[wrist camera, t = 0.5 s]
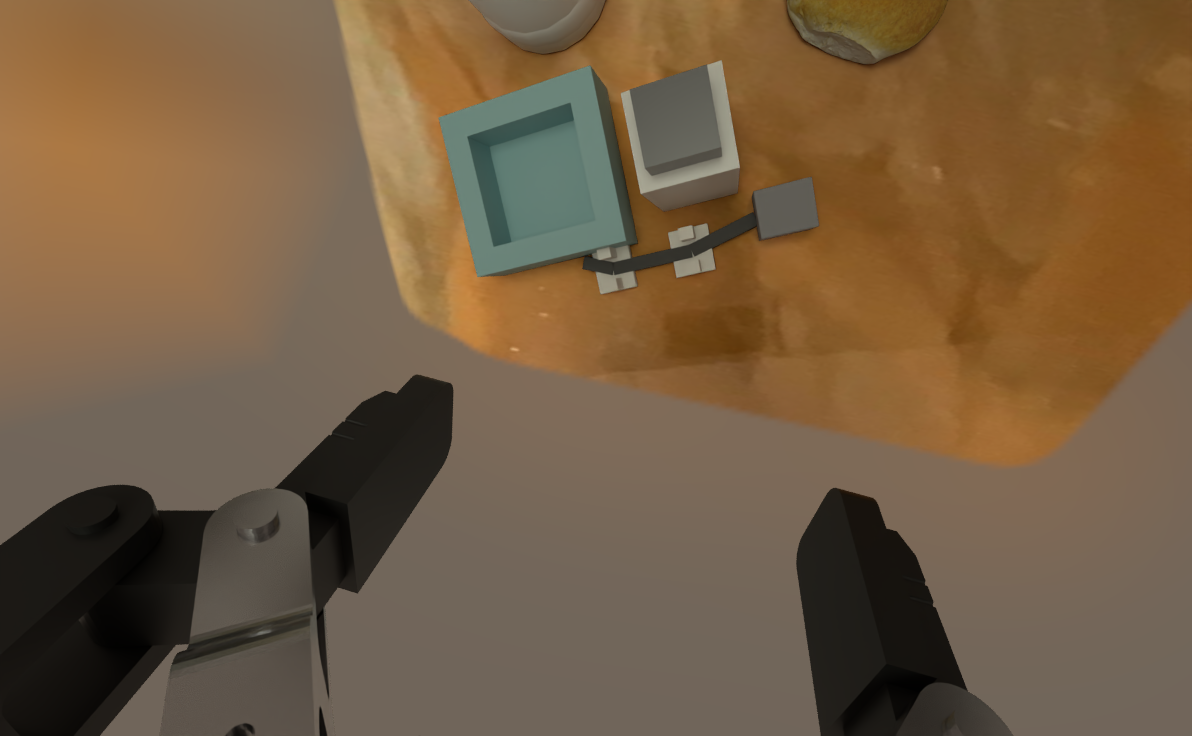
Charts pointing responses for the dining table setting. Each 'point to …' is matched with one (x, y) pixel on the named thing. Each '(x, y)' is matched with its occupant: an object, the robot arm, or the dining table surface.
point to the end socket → (539, 175)
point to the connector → (683, 138)
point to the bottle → (541, 21)
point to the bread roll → (864, 25)
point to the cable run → (711, 237)
